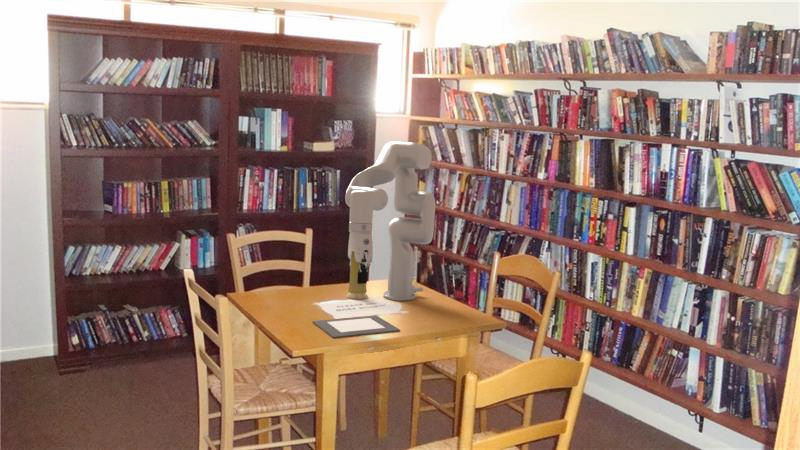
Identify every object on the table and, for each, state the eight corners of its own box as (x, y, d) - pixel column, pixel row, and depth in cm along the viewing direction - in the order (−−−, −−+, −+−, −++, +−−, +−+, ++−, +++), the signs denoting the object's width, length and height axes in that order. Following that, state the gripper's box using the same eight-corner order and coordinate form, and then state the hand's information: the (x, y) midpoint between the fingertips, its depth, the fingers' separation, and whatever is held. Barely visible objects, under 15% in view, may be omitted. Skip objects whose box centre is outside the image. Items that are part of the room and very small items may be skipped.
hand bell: (343, 295, 287) (345, 255, 284) (363, 293, 290) (364, 254, 288) (351, 300, 279) (352, 259, 277) (371, 299, 283) (373, 258, 280)
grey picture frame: (376, 316, 259) (376, 314, 259) (400, 331, 243) (400, 329, 243) (312, 322, 248) (312, 320, 247) (333, 338, 232) (333, 336, 232)
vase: (367, 290, 246) (369, 248, 244) (365, 294, 240) (367, 252, 238) (349, 289, 247) (351, 247, 245) (346, 293, 241) (348, 250, 239)
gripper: (382, 231, 235) (379, 286, 237) (359, 223, 249) (357, 275, 252) (361, 232, 231) (358, 288, 234) (339, 223, 246) (337, 276, 249)
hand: (358, 280), depth 243 cm, fingers closed on vase, 5 cm apart
